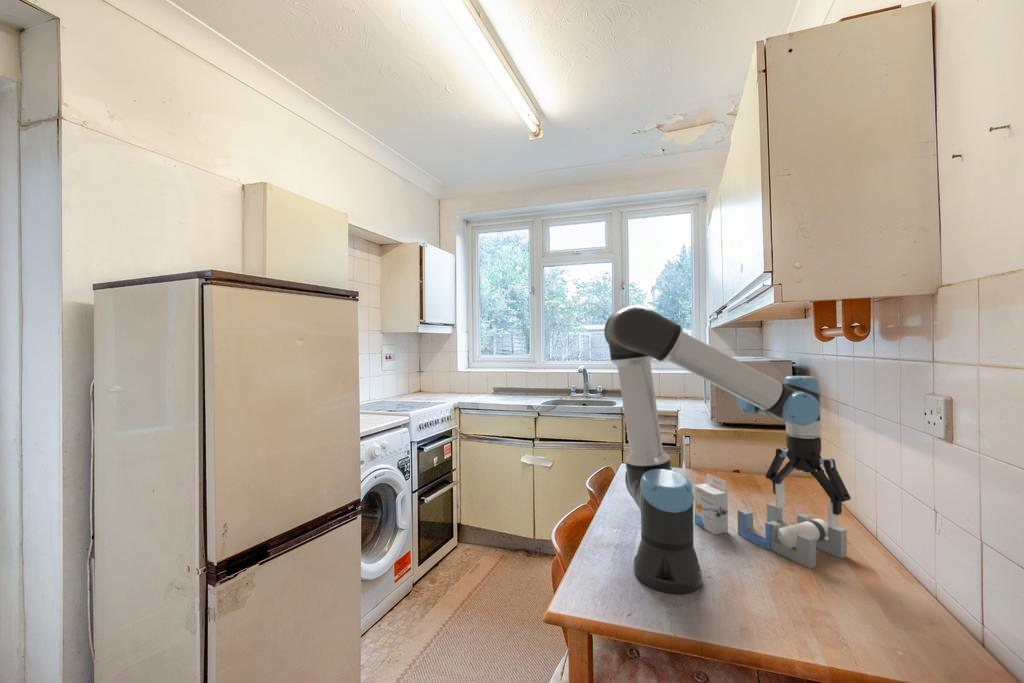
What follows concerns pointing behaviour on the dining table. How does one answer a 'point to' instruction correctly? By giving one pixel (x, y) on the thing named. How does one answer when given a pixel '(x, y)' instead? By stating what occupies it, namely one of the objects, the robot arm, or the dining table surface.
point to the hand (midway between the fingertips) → (805, 516)
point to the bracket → (805, 543)
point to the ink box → (712, 505)
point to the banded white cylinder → (811, 528)
